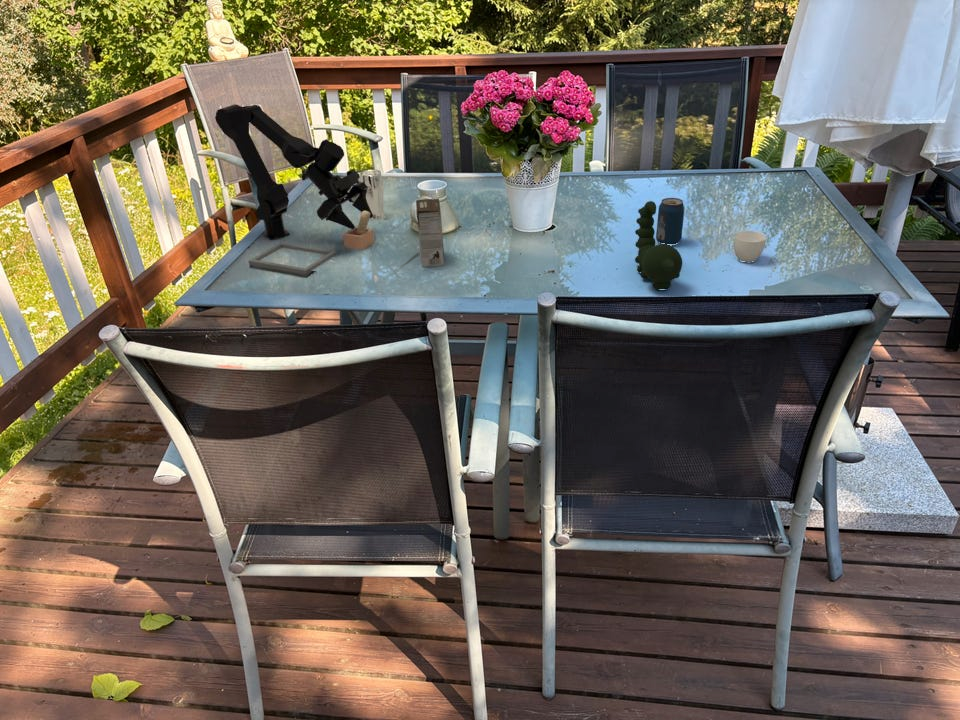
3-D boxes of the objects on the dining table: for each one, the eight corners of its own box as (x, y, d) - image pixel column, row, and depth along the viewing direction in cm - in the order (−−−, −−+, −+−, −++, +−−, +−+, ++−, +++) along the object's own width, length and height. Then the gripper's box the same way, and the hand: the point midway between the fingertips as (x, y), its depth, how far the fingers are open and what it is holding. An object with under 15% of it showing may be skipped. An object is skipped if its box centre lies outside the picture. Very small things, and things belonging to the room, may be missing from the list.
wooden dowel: (351, 246, 205) (348, 209, 199) (356, 243, 207) (353, 207, 201) (370, 250, 203) (367, 213, 197) (374, 247, 204) (371, 210, 198)
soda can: (683, 239, 200) (687, 198, 193) (678, 248, 194) (682, 206, 188) (658, 236, 202) (662, 195, 196) (653, 245, 197) (656, 204, 191)
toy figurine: (624, 267, 189) (650, 301, 167) (627, 197, 181) (655, 223, 158) (658, 265, 190) (689, 298, 167) (663, 195, 181) (696, 220, 159)
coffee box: (421, 254, 199) (415, 199, 191) (443, 252, 200) (439, 197, 191) (421, 267, 191) (416, 210, 183) (445, 265, 192) (440, 208, 183)
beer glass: (383, 223, 222) (377, 176, 214) (362, 222, 223) (355, 175, 216) (390, 215, 228) (384, 169, 220) (369, 214, 229) (363, 169, 221)
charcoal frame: (249, 267, 197) (248, 260, 196) (282, 248, 208) (280, 242, 207) (306, 277, 189) (305, 270, 188) (337, 257, 200) (336, 251, 199)
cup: (734, 266, 183) (738, 241, 179) (726, 251, 191) (729, 227, 188) (765, 265, 182) (769, 241, 179) (755, 250, 191) (759, 227, 187)
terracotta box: (345, 250, 204) (342, 234, 202) (357, 242, 209) (355, 226, 206) (363, 253, 202) (360, 236, 199) (374, 245, 207) (372, 229, 204)
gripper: (318, 172, 187) (358, 216, 188) (357, 153, 201) (395, 194, 202) (300, 198, 194) (339, 240, 195) (339, 178, 208) (375, 218, 209)
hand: (363, 222), depth 200 cm, fingers open, 9 cm apart
